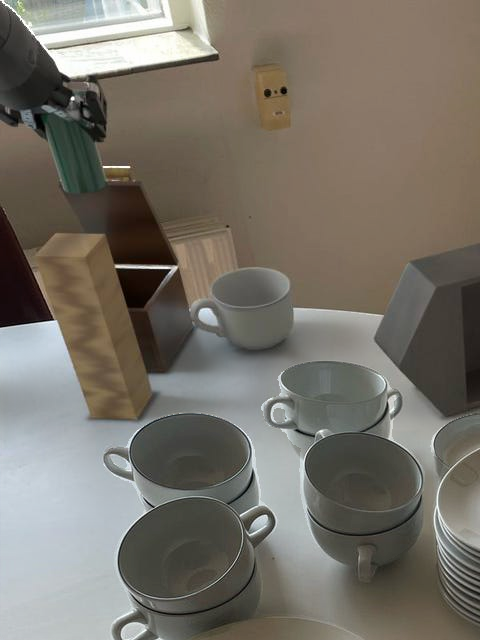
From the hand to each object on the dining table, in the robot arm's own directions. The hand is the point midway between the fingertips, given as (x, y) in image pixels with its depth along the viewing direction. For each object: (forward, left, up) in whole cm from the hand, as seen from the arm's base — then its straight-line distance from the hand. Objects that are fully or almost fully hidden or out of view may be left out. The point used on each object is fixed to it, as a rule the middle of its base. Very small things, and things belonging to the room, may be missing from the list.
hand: (76, 134), depth 119 cm
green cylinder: (0, -2, -5) cm, 5 cm away
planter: (+38, -14, -20) cm, 44 cm away
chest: (0, 0, -28) cm, 28 cm away
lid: (0, +4, -13) cm, 13 cm away
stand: (+3, -14, -28) cm, 31 cm away
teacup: (+15, +3, -28) cm, 32 cm away
